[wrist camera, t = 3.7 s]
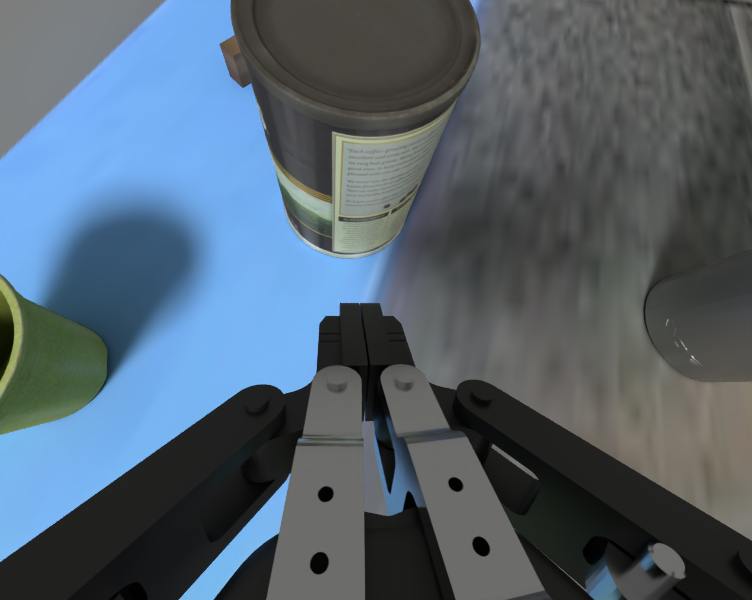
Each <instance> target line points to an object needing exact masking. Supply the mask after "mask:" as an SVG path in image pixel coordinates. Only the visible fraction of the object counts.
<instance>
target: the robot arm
mask: <svg viewBox="0 0 752 600" xmlns="http://www.w3.org/2000/svg"><path fill="white" fill-rule="evenodd" d="M645 317H646V325H647V328H648V332H649V335H650V337H651V339H652V341H653V343H654V345H655V347H656V348H657V350H658V351H659V353H660V354H661V356H662V357H663V358H664V359H665V360H666V361H667V362H668V363H669V364H670V365H671V366H672V367H673V368H675V369H676V370H677V371H679V372H680V373H681V374H683V375H685V376H687V377H689V378H691V379H694V380H698V381H702V382H752V250H749V251H746V252H743V253H740V254H737V255H734V256H731V257H728V258H725V259H722V260H718V261H715V262H712V263H709V264H706V265H703V266H700V267H697V268H694V269H691V270H688V271H685V272H682V273H679V274H676V275H673V276H670V277H668V278H665V279H663V280H661V281H660V282H658V283H657V284H656V285H655V286H654V287H653V289H652V290H651V291H650V293H649V295H648V298H647V301H646V308H645ZM364 412H365V421H374V428H375V433H374V447H375V452H376V457H377V461H378V466H379V471H380V475H381V480H382V485H383V490H384V494H385V499H386V506H387V516H383V515H378V514H373V513H368V512H364V447H363V439H362V421H364ZM493 444H494V445H496V446H497V447H498V448H500V449H501V450H503V451H504V452H505V453H507V454H508V455H510V456H511V457H512V458H514V459H515V460H517V461H518V462H519V463H521V464H522V465H524V466H525V467H526V468H528V469H529V470H530V471H532V472H533V473H534V474H535V475H536V476H537V478H538V479H539V480H537V479H534V478H533V477H531V476H530V475H528V474H527V473H525V472H524V471H523V470H521V469H520V468H519V467H517V466H516V465H514V464H513V463H512V462H510V461H509V460H508V459H506V458H505V457H503V456H502V455H501V454H499V453H498V452H497V451H495V450H494V449H492V448H491V447H492V445H493ZM290 473H291V476H290V481H289V486H288V491H287V496H286V501H285V506H284V511H283V516H282V522H281V527H280V532H279V534H277V535H275V536H274V537H272V538H271V539H269V540H268V541H266V542H265V543H264V544H263V545H261V546H260V547H259V548H258V549H257V550H255V551H254V552H253V553H252V554H251V555H250V556H249V557H248V558H247V559H246V560H245V561H244V562H243V564H242V565H241V566H240V567H239V568H238V570H237V571H236V572H235V573H234V575H233V576H232V577H231V578H230V580H229V581H228V582H227V583H226V585H225V586H224V587H223V589H222V590H221V591H220V592H219V594H218V595H217V596H216V597H215V599H214V600H752V541H751V540H749V539H748V538H746V537H744V536H743V535H741V534H740V533H738V532H736V531H735V530H733V529H731V528H730V527H728V526H726V525H725V524H723V523H721V522H720V521H718V520H716V519H715V518H713V517H711V516H710V515H708V514H706V513H705V512H703V511H701V510H700V509H698V508H696V507H695V506H693V505H691V504H690V503H688V502H686V501H685V500H683V499H681V498H680V497H678V496H676V495H675V494H673V493H671V492H670V491H668V490H666V489H665V488H663V487H661V486H660V485H658V484H656V483H655V482H653V481H651V480H650V479H648V478H646V477H645V476H643V475H641V474H640V473H638V472H636V471H635V470H633V469H631V468H630V467H628V466H626V465H625V464H623V463H621V462H620V461H618V460H616V459H615V458H613V457H611V456H610V455H608V454H606V453H605V452H603V451H601V450H600V449H598V448H596V447H595V446H593V445H591V444H590V443H588V442H586V441H585V440H583V439H581V438H580V437H578V436H576V435H575V434H573V433H571V432H570V431H568V430H566V429H565V428H563V427H561V426H560V425H558V424H556V423H555V422H553V421H551V420H550V419H548V418H546V417H545V416H543V415H541V414H540V413H538V412H536V411H535V410H533V409H531V408H530V407H528V406H526V405H525V404H523V403H521V402H520V401H518V400H516V399H515V398H513V397H511V396H510V395H508V394H506V393H505V392H503V391H501V390H500V389H498V388H496V387H495V386H493V385H491V384H489V383H487V382H484V381H481V380H466V381H464V382H462V383H460V384H459V385H458V387H457V390H453V389H449V388H444V387H440V386H436V385H434V384H431V383H430V382H428V380H427V378H426V376H425V375H424V374H423V372H421V371H420V370H419V369H417V368H416V367H415V364H414V361H413V358H412V355H411V352H410V349H409V346H408V343H407V342H406V337H405V334H404V331H403V328H402V325H401V323H400V322H399V321H398V320H397V319H396V318H395V317H394V316H383V314H382V310H381V306H380V303H360V305H359V303H340V315H339V316H325V318H324V319H323V320H322V321H321V323H320V325H319V343H318V358H317V372H316V375H315V376H314V378H313V380H312V381H311V383H309V384H308V385H307V386H305V387H304V388H302V389H299V390H297V391H294V392H290V393H286V394H283V393H282V391H281V390H280V389H278V388H276V387H274V386H271V385H263V384H261V385H254V386H250V387H248V388H245V389H243V390H241V391H240V392H238V393H237V394H236V395H234V396H233V397H231V398H230V399H228V400H227V401H226V402H224V403H223V404H221V405H220V406H219V407H217V408H216V409H214V410H213V411H212V412H210V413H209V414H207V415H206V416H205V417H203V418H202V419H200V420H199V421H198V422H196V423H195V424H193V425H192V426H191V427H189V428H188V429H186V430H185V431H184V432H182V433H181V434H179V435H178V436H177V437H175V438H174V439H172V440H171V441H170V442H168V443H167V444H165V445H164V446H163V447H161V448H160V449H158V450H157V451H156V452H154V453H153V454H151V455H150V456H149V457H147V458H146V459H144V460H143V461H142V462H140V463H139V464H137V465H136V466H134V467H133V468H132V469H130V470H129V471H127V472H126V473H125V474H123V475H122V476H120V477H119V478H118V479H116V480H115V481H113V482H112V483H111V484H109V485H108V486H106V487H105V488H104V489H102V490H101V491H99V492H98V493H97V494H95V495H94V496H92V497H91V498H90V499H88V500H87V501H85V502H84V503H83V504H81V505H80V506H78V507H77V508H76V509H74V510H73V511H71V512H70V513H69V514H67V515H66V516H64V517H63V518H62V519H60V520H59V521H57V522H56V523H55V524H53V525H52V526H50V527H49V528H48V529H46V530H45V531H43V532H42V533H40V534H39V535H38V536H36V537H35V538H33V539H32V540H31V541H29V542H28V543H26V544H25V545H24V546H22V547H21V548H19V549H18V550H17V551H15V552H14V553H12V554H11V555H10V556H8V557H7V558H5V559H4V560H3V561H1V562H0V600H179V599H180V598H181V596H182V595H183V594H184V593H185V592H186V591H187V590H188V589H189V588H190V587H191V585H192V584H193V583H194V582H195V581H196V580H197V579H198V578H199V577H200V575H201V574H202V573H203V572H204V571H205V570H206V569H207V568H208V567H209V565H210V564H211V563H212V562H213V561H214V560H215V559H216V558H217V557H218V555H219V554H220V553H221V552H222V551H223V550H224V549H225V548H226V547H227V545H228V544H229V543H230V542H231V541H232V540H233V539H234V538H235V537H236V536H237V534H238V533H239V532H240V531H241V530H242V529H243V528H244V527H245V526H246V524H247V523H248V522H249V521H250V520H251V519H252V518H253V517H254V516H255V514H256V513H257V512H258V511H259V510H260V509H261V508H262V507H263V506H264V504H265V503H266V502H267V501H268V500H269V499H270V498H271V497H272V496H273V494H274V493H275V492H276V491H277V490H278V489H279V488H280V487H281V486H282V484H283V483H284V482H285V481H286V479H287V478H288V476H289V474H290ZM513 528H514V529H513ZM515 529H516V530H517V531H518V532H517V531H516V530H515ZM536 547H537V548H538V549H537V548H536ZM542 552H543V553H544V554H545V555H546V556H547V557H546V556H545V555H544V554H543V553H542ZM549 558H550V559H551V560H552V561H553V562H554V563H555V564H557V565H558V566H559V567H560V568H561V569H563V570H564V571H565V572H566V573H567V574H568V575H570V576H571V577H572V578H573V579H574V580H575V581H577V582H578V583H579V584H580V585H581V586H582V587H584V588H585V589H586V590H587V592H586V591H584V590H583V589H582V588H581V587H580V586H579V585H578V584H577V583H575V582H574V581H573V580H572V579H571V578H570V577H569V576H568V575H567V574H565V573H564V572H563V571H562V570H561V569H560V568H559V567H558V566H556V565H555V564H554V563H553V562H552V561H551V560H550V559H549Z"/></svg>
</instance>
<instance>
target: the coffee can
mask: <svg viewBox="0 0 752 600" xmlns="http://www.w3.org/2000/svg"><path fill="white" fill-rule="evenodd" d="M231 21H232V26H233V30H234V33H235V37H236V40H237V43H238V46H239V49H240V51H241V54H242V56H243V58H244V60H245V62H246V66H247V69H248V73H249V77H250V80H251V84H252V87H253V90H254V94H255V98H256V102H257V106H258V110H259V113H260V117H261V121H262V124H263V128H264V132H265V136H266V139H267V142H268V146H269V149H270V153H271V157H272V160H273V164H274V168H275V172H276V175H277V179H278V183H279V187H280V190H281V194H282V198H283V201H284V209H285V213H286V216H287V219H288V222H289V224H290V225H291V227H292V229H293V230H294V232H295V233H296V234H297V235H298V237H299V238H300V239H301V240H302V241H304V242H305V243H306V244H307V245H309V246H310V247H312V248H313V249H315V250H317V251H319V252H321V253H324V254H326V255H329V256H333V257H338V258H360V257H365V256H368V255H371V254H374V253H376V252H379V251H381V250H383V249H384V248H385V247H387V246H388V245H389V244H390V243H391V242H393V241H394V239H395V238H396V237H397V236H398V234H399V233H400V232H401V230H402V228H403V226H404V224H405V221H406V217H407V214H408V212H409V209H410V207H411V205H412V202H413V200H414V198H415V196H416V193H417V191H418V188H419V186H420V184H421V182H422V180H423V177H424V175H425V172H426V170H427V168H428V166H429V163H430V161H431V159H432V156H433V154H434V152H435V149H436V147H437V145H438V143H439V140H440V138H441V136H442V134H443V131H444V129H445V127H446V124H447V122H448V120H449V118H450V115H451V113H452V111H453V108H454V106H455V104H456V101H457V99H458V97H459V95H460V94H461V93H462V91H463V90H464V88H465V86H466V85H467V83H468V81H469V79H470V77H471V75H472V73H473V71H474V69H475V66H476V63H477V60H478V56H479V52H480V44H481V41H480V29H479V24H478V20H477V17H476V14H475V11H474V9H473V7H472V5H471V3H470V1H469V0H231Z"/></svg>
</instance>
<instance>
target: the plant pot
mask: <svg viewBox="0 0 752 600" xmlns="http://www.w3.org/2000/svg"><path fill="white" fill-rule="evenodd" d="M107 355H108V350H107V348H106V345H105V343H104V342H103V340H102V339H101V338H100V337H99V336H98V335H97V334H96V333H95V332H93V331H92V330H90V329H88V328H86V327H84V326H82V325H80V324H78V323H76V322H74V321H71V320H69V319H67V318H65V317H62V316H60V315H58V314H56V313H54V312H52V311H50V310H48V309H46V308H44V307H42V306H40V305H38V304H36V303H34V302H31V301H29V300H27V299H25V298H23V296H22V295H20V294H19V293H18V292H17V291H16V290H15V289H14V287H13V286H12V285H11V284H10V283H9V281H8V280H7V279H6V278H5V277H3V276H2V275H1V274H0V435H2V434H5V433H9V432H13V431H16V430H20V429H24V428H28V427H32V426H36V425H40V424H43V423H47V422H51V421H55V420H58V419H61V418H64V417H67V416H69V415H71V414H73V413H75V412H77V411H78V410H80V409H81V408H83V407H84V406H85V405H87V404H88V403H89V402H90V401H91V400H92V399H93V398H94V397H95V396H96V395H97V393H98V392H99V390H100V389H101V387H102V386H103V384H104V382H105V380H106V377H107Z"/></svg>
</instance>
